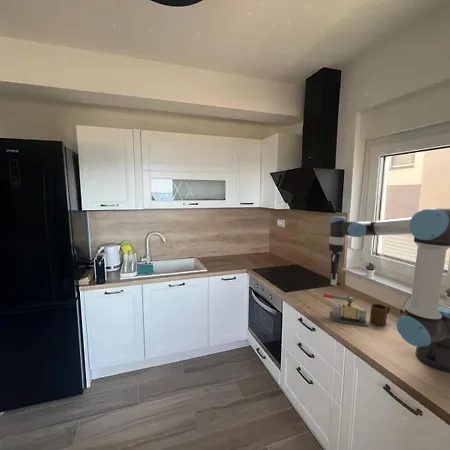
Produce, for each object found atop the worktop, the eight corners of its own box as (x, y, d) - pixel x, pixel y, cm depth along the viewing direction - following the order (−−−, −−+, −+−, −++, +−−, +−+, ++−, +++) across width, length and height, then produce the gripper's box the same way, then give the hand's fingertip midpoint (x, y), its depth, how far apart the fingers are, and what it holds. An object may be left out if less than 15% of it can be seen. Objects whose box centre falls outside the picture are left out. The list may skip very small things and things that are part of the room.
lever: (353, 299, 143) (353, 296, 143) (353, 302, 140) (354, 299, 140) (323, 295, 149) (323, 292, 149) (323, 297, 146) (323, 294, 145)
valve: (367, 326, 136) (369, 307, 134) (333, 321, 140) (335, 303, 139) (362, 316, 147) (364, 299, 146) (330, 311, 152) (332, 295, 150)
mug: (381, 317, 147) (383, 301, 146) (394, 323, 140) (396, 307, 139) (366, 320, 142) (368, 304, 141) (379, 327, 135) (381, 310, 134)
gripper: (331, 241, 151) (329, 280, 154) (326, 244, 140) (324, 286, 143) (345, 243, 147) (342, 282, 150) (341, 246, 136) (338, 289, 139)
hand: (333, 284), depth 146 cm, fingers closed
